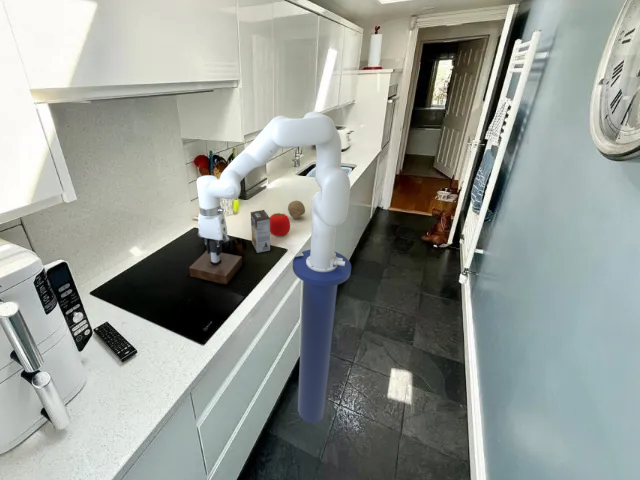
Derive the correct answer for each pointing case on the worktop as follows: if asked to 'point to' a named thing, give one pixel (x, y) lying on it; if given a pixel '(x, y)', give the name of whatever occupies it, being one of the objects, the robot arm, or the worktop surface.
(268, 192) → the worktop surface
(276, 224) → the tomato
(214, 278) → the holder
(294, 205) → the natural sponge
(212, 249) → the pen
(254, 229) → the coffee box
